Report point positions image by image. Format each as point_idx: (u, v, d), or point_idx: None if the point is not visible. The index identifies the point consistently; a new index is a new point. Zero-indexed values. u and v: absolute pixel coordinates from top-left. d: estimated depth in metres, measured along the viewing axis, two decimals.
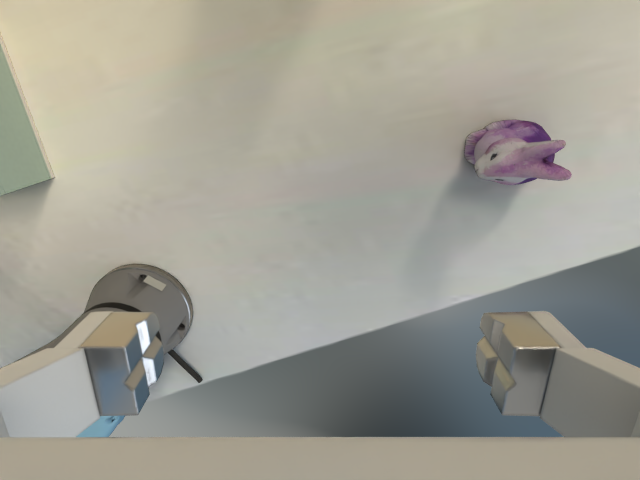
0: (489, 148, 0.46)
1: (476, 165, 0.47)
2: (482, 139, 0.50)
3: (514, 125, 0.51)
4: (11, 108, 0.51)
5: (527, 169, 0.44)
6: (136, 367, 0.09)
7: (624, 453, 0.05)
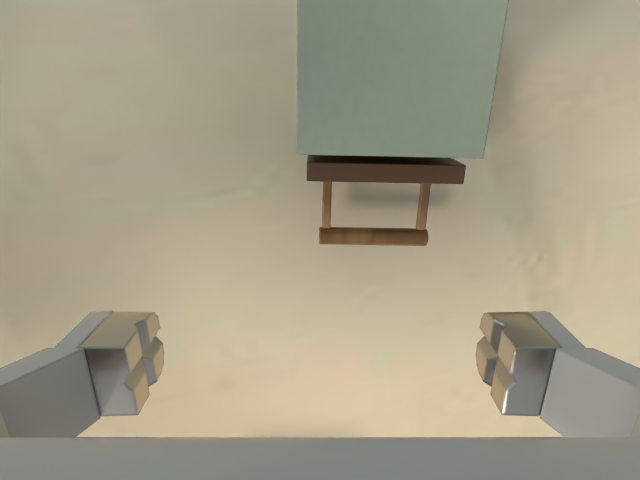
0: None
1: None
2: None
3: None
4: None
5: None
6: (136, 367, 0.09)
7: (624, 453, 0.05)
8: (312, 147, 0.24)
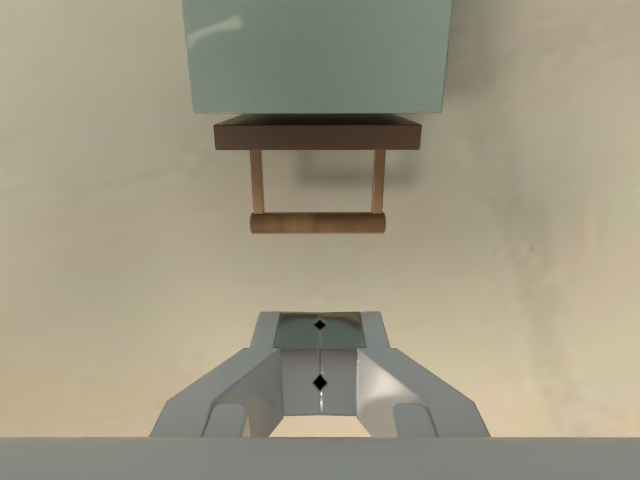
0: None
1: None
2: None
3: None
4: None
5: None
6: None
7: (624, 453, 0.05)
8: (212, 103, 0.18)
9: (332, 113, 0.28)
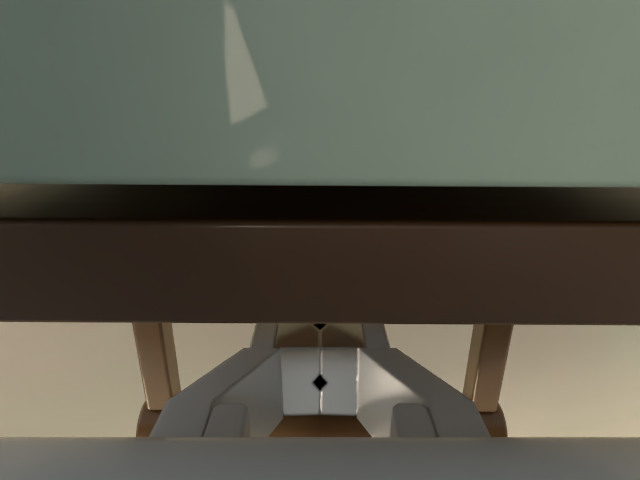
0: None
1: None
2: None
3: None
4: None
5: None
6: None
7: (624, 453, 0.05)
8: None
9: None
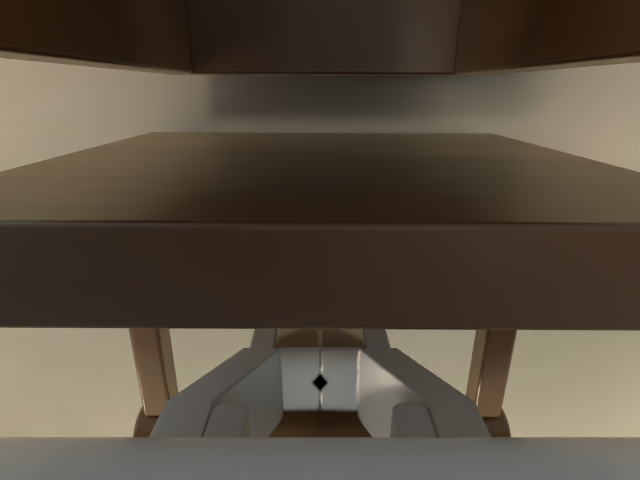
0: None
1: None
2: None
3: None
4: None
5: None
6: None
7: (624, 453, 0.05)
8: None
9: (357, 133, 0.12)
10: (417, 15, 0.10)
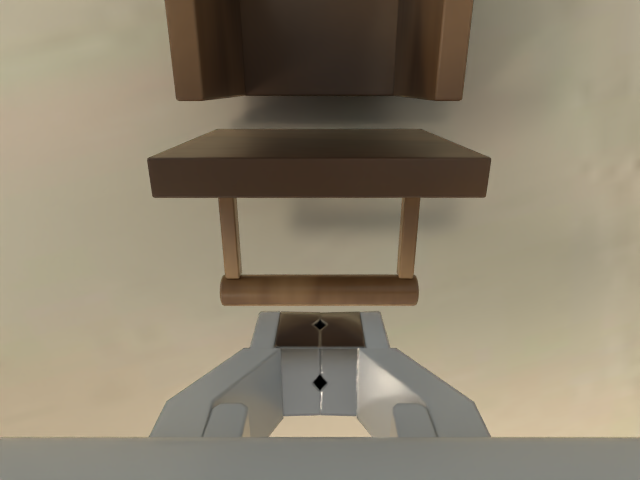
0: None
1: None
2: None
3: None
4: None
5: None
6: None
7: (624, 453, 0.05)
8: None
9: (340, 129, 0.20)
10: (371, 63, 0.18)
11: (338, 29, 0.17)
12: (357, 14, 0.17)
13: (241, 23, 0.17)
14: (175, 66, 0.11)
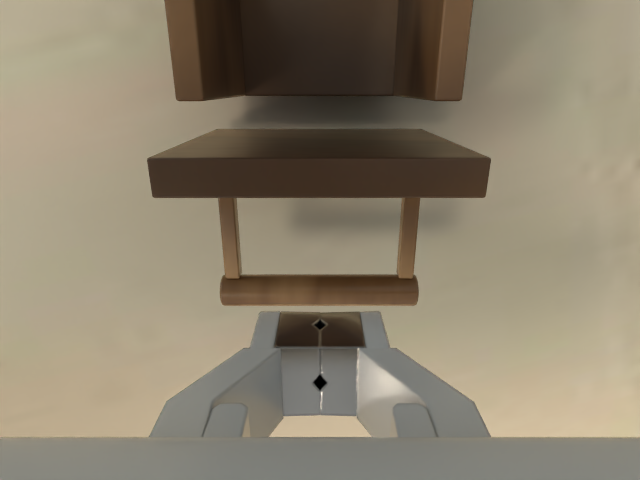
0: None
1: None
2: None
3: None
4: None
5: None
6: None
7: (624, 453, 0.05)
8: None
9: (339, 129, 0.20)
10: (371, 63, 0.18)
11: (338, 29, 0.17)
12: (357, 14, 0.17)
13: (241, 23, 0.17)
14: (175, 66, 0.11)
